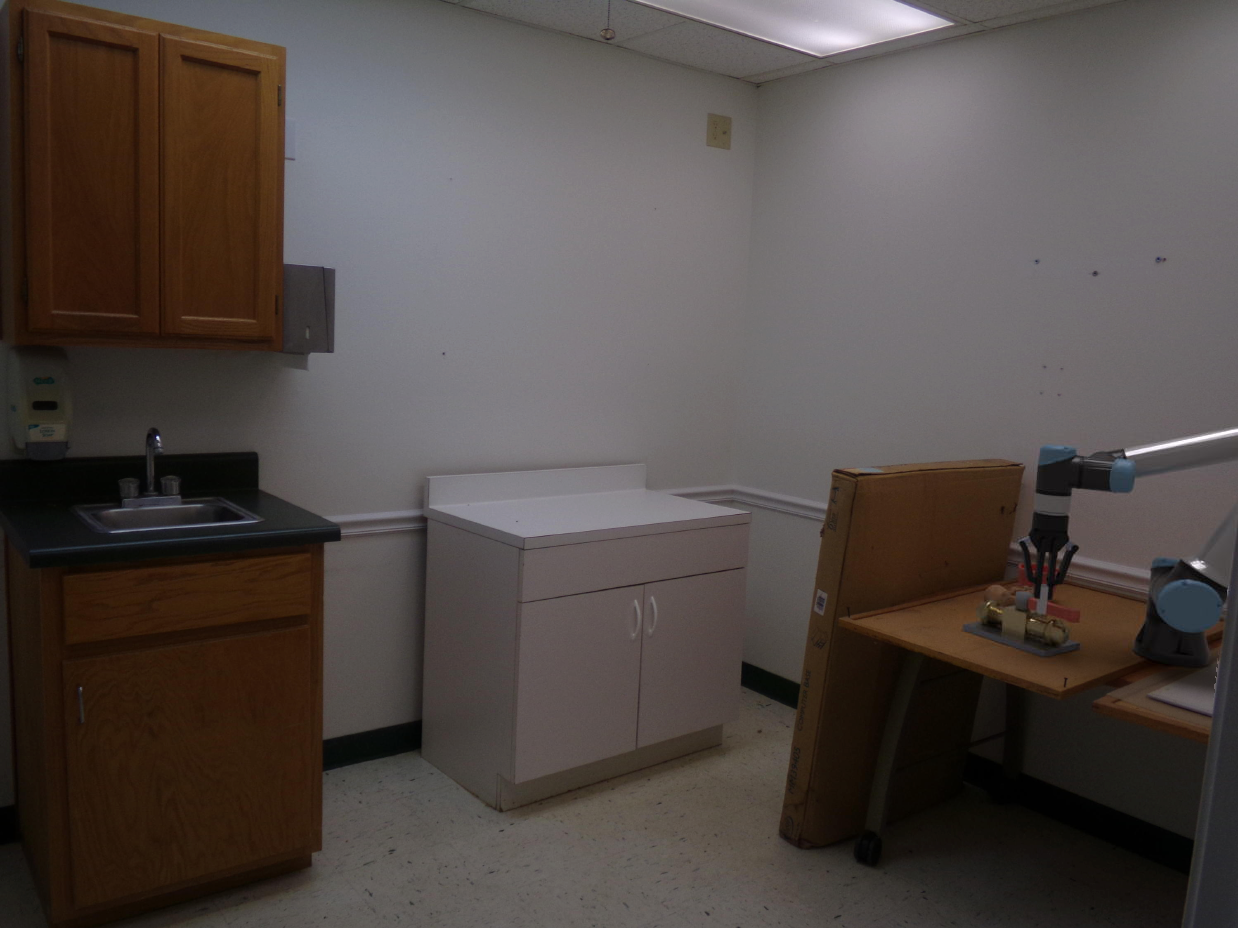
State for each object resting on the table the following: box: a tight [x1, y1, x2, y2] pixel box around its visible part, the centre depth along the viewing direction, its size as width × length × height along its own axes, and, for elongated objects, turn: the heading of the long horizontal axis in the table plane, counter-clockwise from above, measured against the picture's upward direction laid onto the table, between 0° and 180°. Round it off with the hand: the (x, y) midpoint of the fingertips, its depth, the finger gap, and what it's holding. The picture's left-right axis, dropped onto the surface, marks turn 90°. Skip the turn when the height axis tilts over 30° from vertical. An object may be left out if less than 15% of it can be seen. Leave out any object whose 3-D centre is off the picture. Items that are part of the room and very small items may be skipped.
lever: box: [1015, 592, 1081, 624], centre depth 213 cm, size 4×16×4 cm, turn 30°
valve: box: [962, 600, 1081, 658], centre depth 220 cm, size 22×14×8 cm, turn 32°
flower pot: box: [1018, 563, 1059, 603], centre depth 256 cm, size 11×11×10 cm
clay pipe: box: [983, 584, 1048, 620], centre depth 237 cm, size 19×11×15 cm
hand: (1040, 612), depth 210 cm, fingers closed
